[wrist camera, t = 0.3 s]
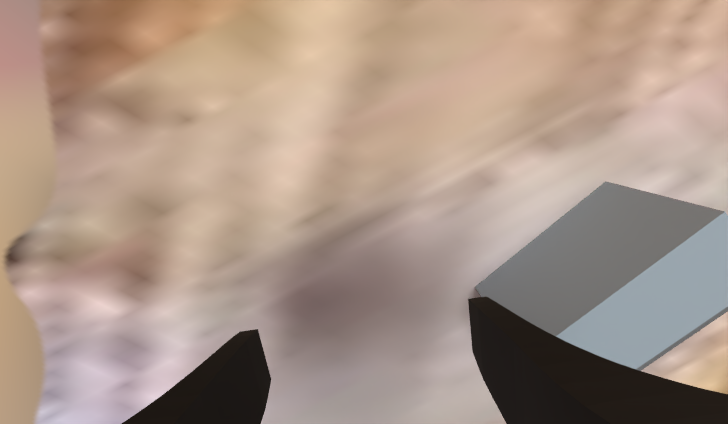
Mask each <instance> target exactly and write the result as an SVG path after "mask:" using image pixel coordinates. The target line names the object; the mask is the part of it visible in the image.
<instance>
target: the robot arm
mask: <svg viewBox="0 0 728 424" xmlns="http://www.w3.org/2000/svg"><path fill="white" fill-rule="evenodd" d="M468 301H469V313H470V325H471V337H472V349H473V353H474V356H475V359H476V361H477V364H478V367H479V369H480V372H481V374H482V377H483V380H484V381H485V383H486V385H487V387H488V389H489V391H490V393H491V395H492V397H493V399H494V401H495V403H496V404H497V406H498V408H499V410H500V412H501V414H502V416H503V418H504V420H505V421H506V423H507V424H728V394H723V393H719V392H714V391H710V390H705V389H701V388H697V387H693V386H690V385H686V384H682V383H679V382H675V381H672V380H668V379H664V378H661V377H658V376H655V375H651V374H648V373H645V372H642V371H639V370H636V369H633V368H630V367H627V366H624V365H622V364H619V363H616V362H613V361H610V360H608V359H605V358H603V357H600V356H598V355H595V354H593V353H591V352H588V351H586V350H584V349H581V348H579V347H577V346H574V345H572V344H570V343H568V342H566V341H564V340H562V339H560V338H558V337H556V336H554V335H552V334H550V333H548V332H546V331H544V330H543V329H541V328H539V327H537V326H535V325H534V324H532V323H530V322H528V321H527V320H525V319H523V318H521V317H520V316H518V315H516V314H515V313H513V312H512V311H510V310H508V309H507V308H505V307H503V306H502V305H500V304H499V303H497V302H495V301H494V300H492V299H490V298H489V297H487V296H486V297H479V298H472V299H468ZM270 382H271V377H270V374H269V370H268V366H267V362H266V359H265V355H264V351H263V347H262V344H261V340H260V336H259V333H258V329H257V330H250V331H243V332H239V333H238V334H237V335H235V336H234V337H233V338H231V339H230V340H229V341H228V342H226V343H225V344H224V345H223V346H222V347H221V348H219V349H218V350H217V351H216V352H215V353H214V354H212V355H211V356H210V357H209V358H208V359H207V360H205V361H204V362H203V363H202V364H201V365H200V366H198V367H197V368H196V369H195V370H194V371H192V372H191V373H190V374H189V375H187V376H186V377H185V378H184V379H182V380H181V381H180V382H179V383H177V384H176V385H175V386H174V387H172V388H171V389H170V390H169V391H167V392H166V393H165V394H163V395H162V396H161V397H159V398H158V399H157V400H155V401H154V402H153V403H151V404H150V405H148V406H147V407H146V408H144V409H143V410H141V411H140V412H138V413H137V414H135V415H134V416H132V417H131V418H129V419H128V420H126V421H125V422H123V423H122V424H261V421H262V418H263V414H264V411H265V408H266V403H267V398H268V393H269V388H270Z"/></svg>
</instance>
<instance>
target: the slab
mask: <svg viewBox="0 0 728 424" xmlns="http://www.w3.org/2000/svg"><path fill="white" fill-rule="evenodd" d="M475 288H476V290H477V291H478V292H479V294H480V295H481V297H486V296H487V297H489V298H490V299H492V300H494V301H495V302H497V303H499V304H500V305H502V306H503V307H505V308H507V309H508V310H510V311H512V312H513V313H515V314H516V315H518V316H520V317H521V318H523V319H525V320H527V321H528V322H530V323H532V324H534V325H535V326H537V327H539V328H541V329H543V330H544V331H546V332H548V333H550V334H552V335H554V336H556V337H558V338H560V339H562V340H564V341H566V342H568V343H570V344H572V345H574V346H577V347H579V348H581V349H584V350H586V351H588V352H591V353H593V354H595V355H598V356H600V357H603V358H605V359H608V360H610V361H613V362H616V363H619V364H622V365H624V366H627V367H630V368H633V369H637V368H639V367H640V366H641V365H643V364H644V363H646V362H647V361H649V360H650V359H652V358H653V357H655V356H656V355H658V354H659V353H660V352H662V351H663V350H665V349H666V348H668V347H669V346H671V345H672V344H674V343H675V342H677V341H678V340H679V339H681V338H682V337H684V336H685V335H687V334H688V333H690V332H691V331H693V330H694V329H696V328H697V327H698V326H700V325H701V324H703V323H704V322H706V321H707V320H709V319H710V318H712V317H713V316H715V315H716V314H717V313H719V312H720V311H722V310H723V309H725V308H726V307H728V216H727V214H726V213H725V212H724V211H720V210H716V209H712V208H708V207H704V206H700V205H696V204H692V203H688V202H684V201H681V200H677V199H673V198H669V197H665V196H661V195H657V194H653V193H649V192H645V191H641V190H637V189H633V188H629V187H625V186H621V185H617V184H613V183H610V182H605V183H603V184H602V185H601V186H600V187H598V188H597V189H596V190H595V191H593V192H592V193H591V194H590V195H588V196H587V197H586V198H585V199H584V200H582V201H581V202H580V203H579V204H577V205H576V206H575V207H574V208H572V209H571V210H570V211H569V212H567V213H566V214H565V215H564V216H562V217H561V218H560V219H559V220H557V221H556V222H555V223H554V224H553V225H551V226H550V227H549V228H548V229H546V230H545V231H544V232H543V233H541V234H540V235H539V236H538V237H536V238H535V239H534V240H533V241H531V242H530V243H529V244H528V245H526V246H525V247H524V248H523V249H522V250H520V251H519V252H518V253H517V254H515V255H514V256H513V257H512V258H510V259H509V260H508V261H507V262H505V263H504V264H503V265H502V266H500V267H499V268H498V269H497V270H495V271H494V272H493V273H492V274H491V275H489V276H488V277H487V278H486V279H484V280H483V281H482V282H481V283H479V284H478V285H477V286H476V287H475Z"/></svg>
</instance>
